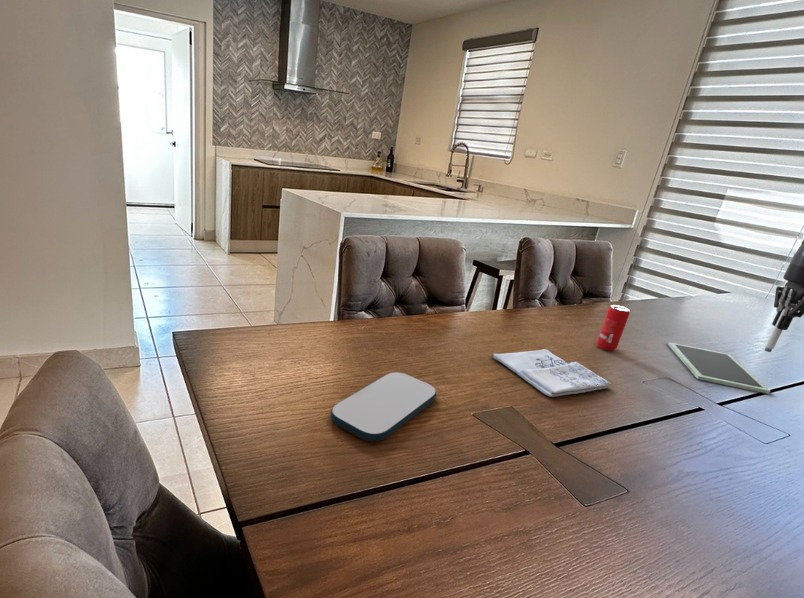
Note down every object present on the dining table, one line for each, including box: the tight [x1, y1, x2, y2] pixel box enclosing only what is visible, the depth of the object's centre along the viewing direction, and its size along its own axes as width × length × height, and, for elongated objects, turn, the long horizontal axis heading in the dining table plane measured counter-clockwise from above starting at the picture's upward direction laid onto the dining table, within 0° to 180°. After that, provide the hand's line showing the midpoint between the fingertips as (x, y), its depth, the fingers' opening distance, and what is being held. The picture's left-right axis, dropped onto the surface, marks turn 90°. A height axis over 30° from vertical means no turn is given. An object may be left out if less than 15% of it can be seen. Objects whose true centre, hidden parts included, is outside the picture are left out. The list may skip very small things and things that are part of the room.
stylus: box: [764, 309, 785, 353], centre depth 126 cm, size 2×2×12 cm
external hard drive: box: [330, 371, 437, 443], centre depth 90 cm, size 24×12×2 cm, turn 143°
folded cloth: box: [492, 348, 612, 398], centre depth 112 cm, size 19×20×2 cm
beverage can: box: [596, 304, 630, 352], centre depth 130 cm, size 5×5×12 cm
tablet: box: [667, 341, 771, 395], centre depth 128 cm, size 16×23×1 cm
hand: (779, 327), depth 126 cm, fingers closed on stylus, 2 cm apart
